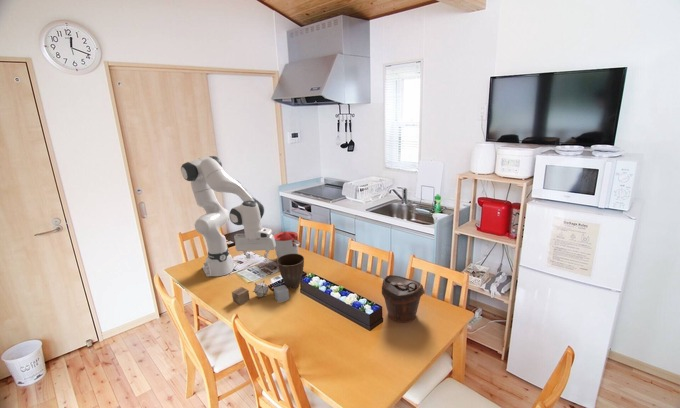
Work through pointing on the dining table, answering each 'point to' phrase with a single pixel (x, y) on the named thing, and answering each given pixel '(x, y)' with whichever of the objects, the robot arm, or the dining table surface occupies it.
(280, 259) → the plant pot
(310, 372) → the dining table surface
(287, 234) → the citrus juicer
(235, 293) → the walnut block
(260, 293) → the grey spiky ball
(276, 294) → the grey block
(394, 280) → the dark brown lidded bucket
